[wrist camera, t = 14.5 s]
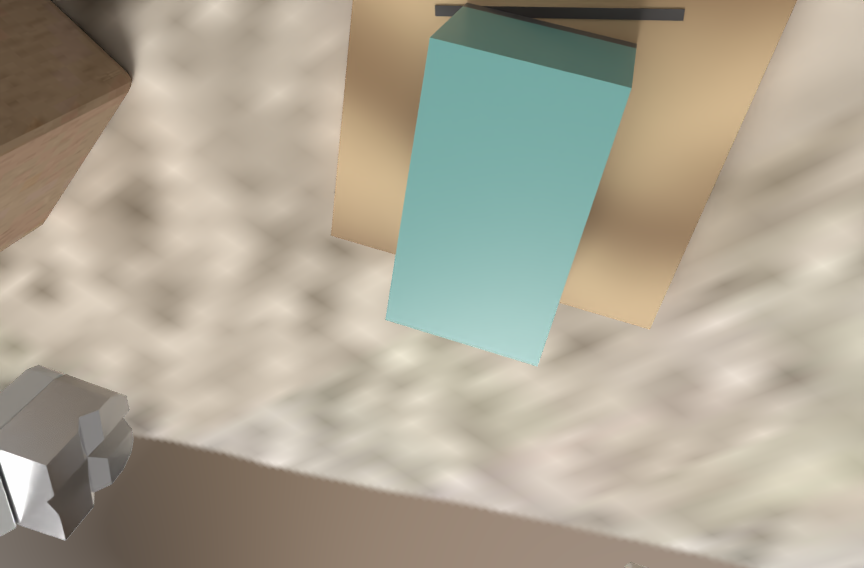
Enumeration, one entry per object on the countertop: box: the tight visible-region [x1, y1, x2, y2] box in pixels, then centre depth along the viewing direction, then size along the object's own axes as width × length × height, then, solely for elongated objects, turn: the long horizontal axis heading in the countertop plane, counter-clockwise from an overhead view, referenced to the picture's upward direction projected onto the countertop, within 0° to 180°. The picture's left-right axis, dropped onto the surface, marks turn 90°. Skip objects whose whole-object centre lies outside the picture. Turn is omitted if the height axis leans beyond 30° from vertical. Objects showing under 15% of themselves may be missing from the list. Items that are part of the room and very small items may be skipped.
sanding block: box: [385, 3, 637, 366], centre depth 21 cm, size 9×5×4 cm, turn 173°
